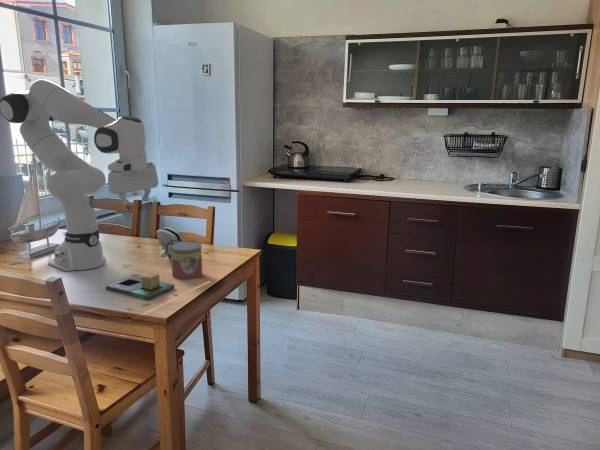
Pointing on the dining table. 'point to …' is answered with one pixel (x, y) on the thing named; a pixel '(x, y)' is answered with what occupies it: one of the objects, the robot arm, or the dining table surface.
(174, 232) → the grey curved piece
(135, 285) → the peg hole board
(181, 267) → the canned food
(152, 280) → the brass peg
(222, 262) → the dining table surface
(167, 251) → the passion flower
